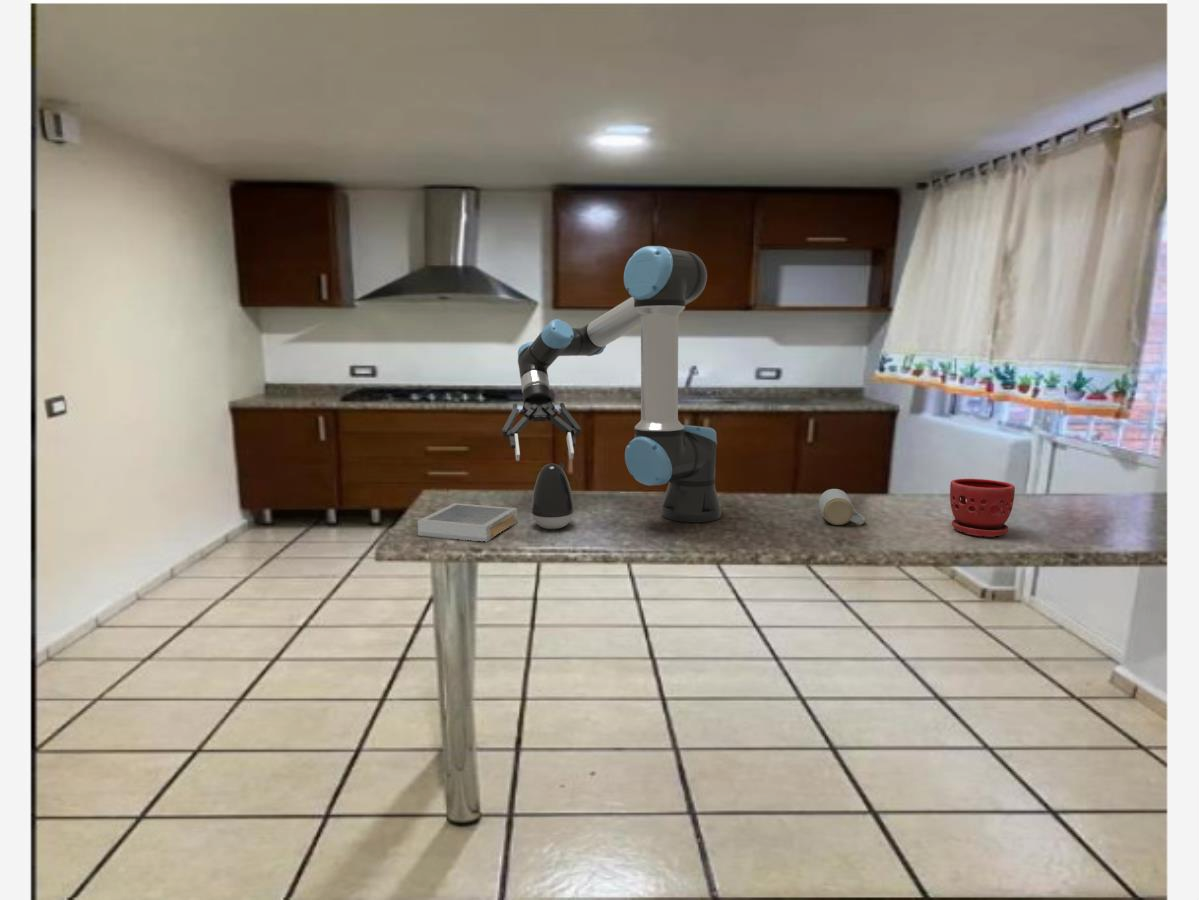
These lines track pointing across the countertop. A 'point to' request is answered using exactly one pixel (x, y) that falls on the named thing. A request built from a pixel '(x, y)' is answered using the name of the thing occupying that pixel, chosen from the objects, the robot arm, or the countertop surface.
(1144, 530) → the countertop surface
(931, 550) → the countertop surface
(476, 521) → the flat gray box
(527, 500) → the countertop surface
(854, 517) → the ceramic mug
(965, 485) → the plant pot
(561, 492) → the black rounded piece
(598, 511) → the countertop surface
